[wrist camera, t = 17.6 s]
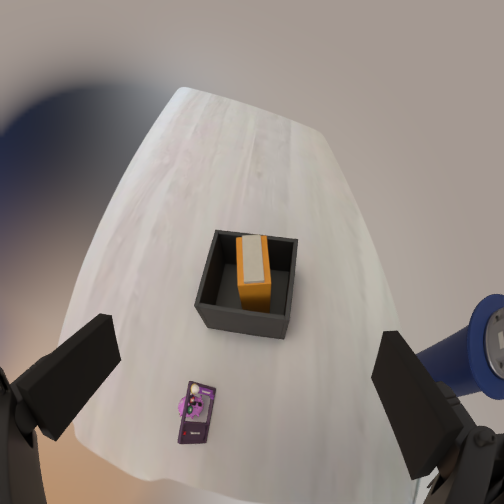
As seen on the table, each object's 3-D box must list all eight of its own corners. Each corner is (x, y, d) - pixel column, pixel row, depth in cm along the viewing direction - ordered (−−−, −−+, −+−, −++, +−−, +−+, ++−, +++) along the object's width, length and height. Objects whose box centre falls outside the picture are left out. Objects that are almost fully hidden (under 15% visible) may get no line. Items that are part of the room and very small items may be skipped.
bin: (292, 270, 48) (298, 239, 40) (283, 339, 42) (289, 320, 34) (223, 262, 50) (215, 229, 42) (207, 327, 43) (193, 305, 35)
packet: (266, 276, 47) (266, 232, 37) (269, 316, 44) (271, 281, 33) (242, 278, 47) (235, 234, 37) (243, 318, 44) (237, 283, 33)
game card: (184, 445, 28) (196, 381, 33) (153, 434, 30) (165, 375, 35) (210, 444, 33) (220, 388, 38) (181, 435, 35) (191, 383, 40)
